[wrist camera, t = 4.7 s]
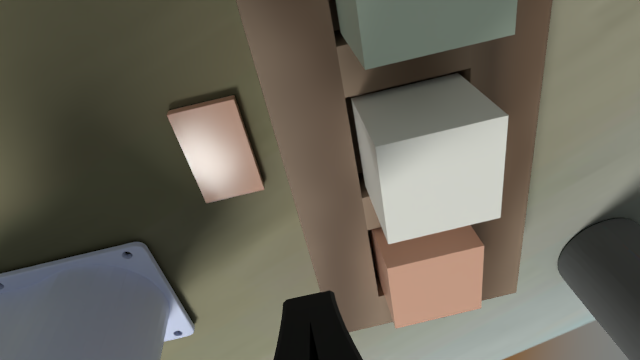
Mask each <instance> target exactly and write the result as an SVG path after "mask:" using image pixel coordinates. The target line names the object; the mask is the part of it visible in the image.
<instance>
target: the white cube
mask: <svg viewBox="0 0 640 360" xmlns="http://www.w3.org/2000/svg"><path fill="white" fill-rule="evenodd" d="M351 101H352V107H353V113H354V119H355V126H356V132H357V138H358V144H359V151H360V157H361V163H362V169H363V176H364V182H365V186H366V189H367V191H368V194H369V197H370V199H371V202H372V204H373V207H374V209H375V212H376V214H377V217H378V219H379V222H380V224H381V227H382V230H383V232H384V235H385V237H386V240H387V242H388V244H392V243H397V242H401V241H405V240H409V239H413V238H418V237H422V236H426V235H430V234H434V233H439V232H443V231H447V230H451V229H455V228H460V227H464V226H468V225H472V224H476V223H481V222H485V221H489V220H493V219H497V218H501V205H502V192H503V180H504V167H505V154H506V141H507V129H508V116H509V115H508V114H506V113H505V112H504V111H503V110H502V109H500V108H499V107H498V106H497V105H496V104H494V103H493V102H492V101H491V100H490V99H489V98H487V97H486V96H485V95H484V94H483V93H481V92H480V91H479V90H478V89H477V88H475V87H474V86H473V85H472V84H471V83H469V82H468V81H467V80H466V79H465V78H464V77H462V76H461V75H460V74H459V73H455V74H451V75H447V76H442V77H438V78H434V79H430V80H426V81H421V82H417V83H413V84H409V85H404V86H400V87H396V88H392V89H388V90H383V91H379V92H375V93H371V94H366V95H362V96H358V97H354V98H351Z"/></svg>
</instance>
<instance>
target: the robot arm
mask: <svg viewBox="0 0 640 360" xmlns="http://www.w3.org/2000/svg"><path fill="white" fill-rule="evenodd" d="M125 252H130V253H131V254H128V253H125ZM194 329H195V326H194V324H193V322H192V321H191V319H190V317H189V316H188V314H187V312H186V311H185V309H184V307H183V306H182V304H181V302H180V301H179V299H178V297H177V296H176V294H175V292H174V291H173V289H172V287H171V286H170V284H169V282H168V281H167V279H166V277H165V276H164V274H163V272H162V271H161V269H160V267H159V266H158V264H157V262H156V261H155V259H154V257H153V256H152V254H151V252H150V251H149V249H148V247H147V246H146V245H145V244H144V243H142V242H132V243H127V244H123V245H119V246H115V247H111V248H106V249H102V250H98V251H94V252H90V253H85V254H81V255H77V256H73V257H69V258H64V259H60V260H56V261H52V262H48V263H43V264H39V265H35V266H31V267H26V268H22V269H18V270H14V271H10V272H5V273H1V274H0V360H160V358H161V353H162V348H163V343H164V342H165V341H169V340H173V339H177V338H181V337H186V336H189V335H192V334H193V333H194ZM274 360H363V359H362V357H361V355H360V354H359V352H358V350H357V348H356V346H355V344H354V342H353V340H352V338H351V336H350V334H349V332H348V330H347V328H346V326H345V323H344V321H343V319H342V316H341V314H340V311H339V308H338V305H337V302H336V298H335V294H334V292H332V291H330V290H329V291H324V292H320V293H315V294H311V295H306V296H301V297H297V298H292V299H288V300H286V301H285V302H284V303H283V312H282V320H281V326H280V332H279V337H278V342H277V347H276V352H275V356H274Z"/></svg>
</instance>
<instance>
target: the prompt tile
mask: <svg viewBox="0 0 640 360" xmlns="http://www.w3.org/2000/svg"><path fill="white" fill-rule="evenodd" d="M167 117H168V119H169V121H170V123H171V126H172V128H173V130H174V132H175V134H176V137H177V139H178V141H179V143H180V146H181V148H182V150H183V152H184V155H185V157H186V159H187V161H188V163H189V166H190V168H191V170H192V172H193V175H194V177H195V179H196V181H197V184H198V186H199V188H200V190H201V192H202V195H203V197H204V199H205V201H206V203H210V202H214V201H219V200H223V199H227V198H231V197H235V196H240V195H244V194H248V193H252V192H256V191H261V190H264V182H263V179H262V176H261V173H260V170H259V167H258V164H257V161H256V158H255V155H254V152H253V149H252V146H251V143H250V140H249V137H248V134H247V131H246V128H245V125H244V122H243V119H242V116H241V113H240V110H239V107H238V104H237V101H236V98H235V95H232V96H227V97H223V98H219V99H215V100H211V101H206V102H202V103H198V104H194V105H189V106H185V107H181V108H177V109H173V110H169V111H168V114H167Z"/></svg>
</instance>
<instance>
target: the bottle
mask: <svg viewBox="0 0 640 360" xmlns="http://www.w3.org/2000/svg"><path fill="white" fill-rule="evenodd" d="M558 270H559V273H560V275H561V276H562V278H563V279H564V280H565V281H566V283H567V284H568V285H569V287H570V288H571V289H572V290H573V292H574V293H575V294H576V295H577V297H578V298H579V299H580V300H581V301H582V303H583V304H584V305H585V306H586V308H587V309H588V310H589V311H590V313H591V314H592V315H593V316H594V317H595V319H596V320H597V321H598V322H599V323H600V325H601V326H602V327H603V328H604V330H605V331H606V332H607V333H608V334H609V336H610V337H611V338H612V339H613V341H614V342H615V343H616V344H617V345H618V347H619V348H620V349H621V350H622V351H623V353H624V354H625V355H626V356H627V357H628V359H629V360H640V225H639V224H638V223H636V222H635V221H632V220H629V219H623V218H619V219H611V220H606V221H603V222H600V223H598V224H595V225H593V226H591V227H589V228H587V229H585V230H584V231H582V232H581V233H579V234H578V235H577V236H575V237H574V238H573V239H572V240H571V241H570V242H569V243H568V244H567V245H566V247H565V248H564V250H563V251H562V253H561V255H560V257H559V260H558Z"/></svg>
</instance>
